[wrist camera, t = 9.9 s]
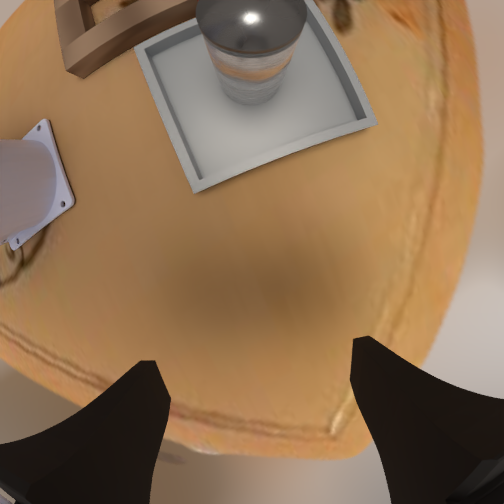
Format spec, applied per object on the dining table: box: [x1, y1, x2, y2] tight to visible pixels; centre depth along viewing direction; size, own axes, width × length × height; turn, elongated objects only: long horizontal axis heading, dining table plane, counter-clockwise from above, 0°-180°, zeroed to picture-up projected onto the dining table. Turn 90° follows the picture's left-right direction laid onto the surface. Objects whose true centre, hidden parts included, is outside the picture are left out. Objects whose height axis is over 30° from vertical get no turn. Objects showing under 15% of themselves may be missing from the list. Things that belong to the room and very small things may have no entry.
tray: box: [134, 0, 378, 194], centre depth 15 cm, size 12×11×2 cm
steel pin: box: [196, 0, 307, 105], centre depth 11 cm, size 4×4×8 cm
